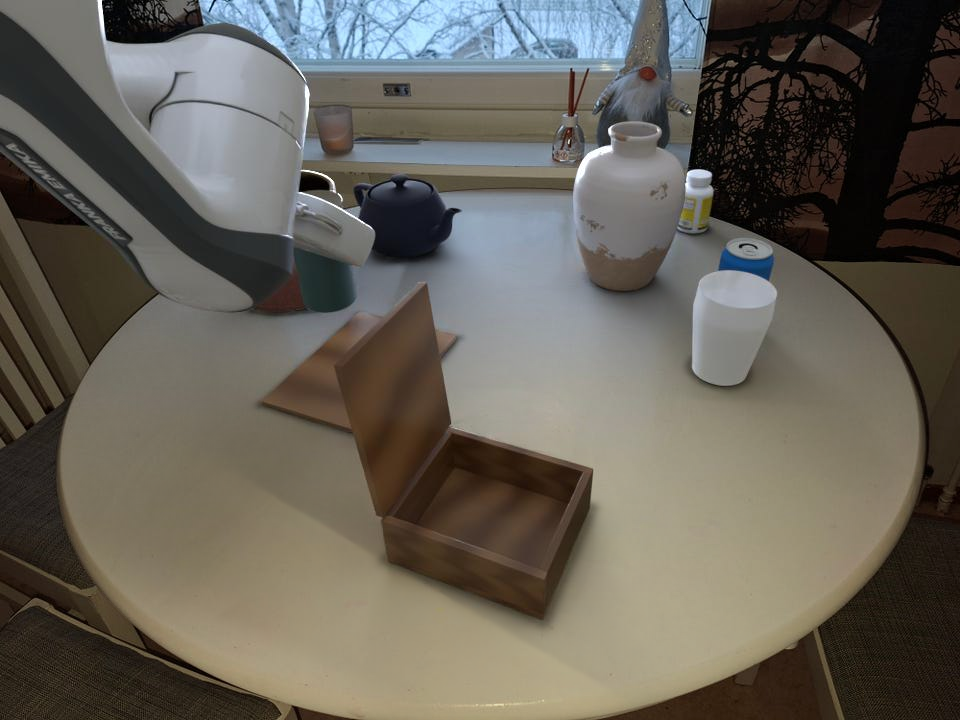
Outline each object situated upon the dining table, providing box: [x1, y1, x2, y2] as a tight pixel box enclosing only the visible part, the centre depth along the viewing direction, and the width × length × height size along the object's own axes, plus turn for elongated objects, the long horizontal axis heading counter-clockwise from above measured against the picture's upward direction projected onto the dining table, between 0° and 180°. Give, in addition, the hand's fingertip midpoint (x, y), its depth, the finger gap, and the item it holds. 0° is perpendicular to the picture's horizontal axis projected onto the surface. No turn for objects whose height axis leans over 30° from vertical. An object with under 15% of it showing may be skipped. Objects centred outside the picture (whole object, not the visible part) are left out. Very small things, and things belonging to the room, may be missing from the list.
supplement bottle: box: [677, 169, 714, 234], centre depth 116 cm, size 5×5×10 cm
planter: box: [252, 169, 337, 314], centre depth 102 cm, size 18×18×16 cm
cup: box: [691, 270, 778, 387], centre depth 82 cm, size 9×9×12 cm
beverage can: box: [717, 237, 775, 282], centre depth 90 cm, size 6×6×12 cm
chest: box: [380, 426, 594, 621], centre depth 65 cm, size 16×14×6 cm
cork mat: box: [260, 311, 458, 434], centre depth 88 cm, size 22×16×1 cm
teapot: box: [353, 173, 463, 259], centre depth 113 cm, size 25×16×12 cm, turn 49°
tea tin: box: [293, 190, 358, 314], centre depth 69 cm, size 6×6×11 cm
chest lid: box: [334, 281, 452, 519], centre depth 61 cm, size 16×14×1 cm
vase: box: [572, 120, 687, 292], centre depth 99 cm, size 16×16×23 cm
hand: (324, 245), depth 69 cm, fingers closed on tea tin, 5 cm apart
